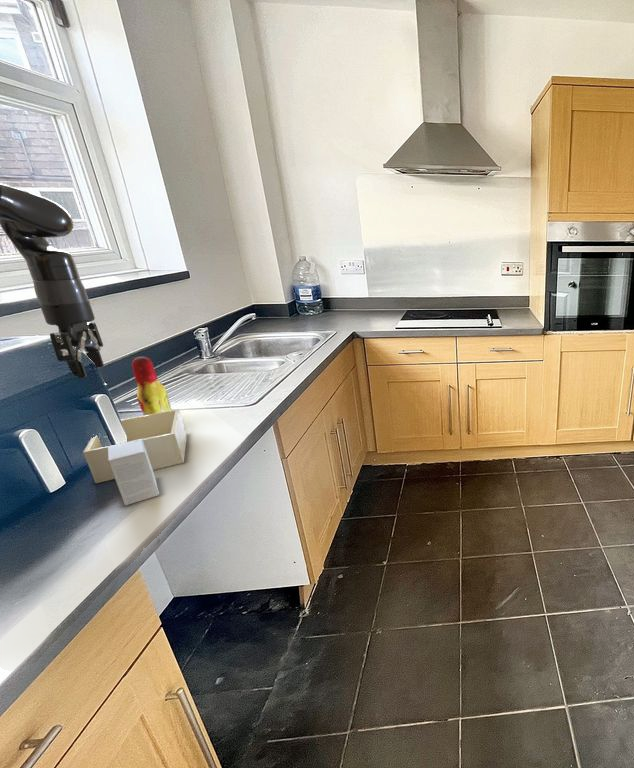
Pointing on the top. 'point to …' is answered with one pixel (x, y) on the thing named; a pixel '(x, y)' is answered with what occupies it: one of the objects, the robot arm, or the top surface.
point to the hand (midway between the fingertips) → (89, 372)
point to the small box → (132, 471)
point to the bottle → (149, 388)
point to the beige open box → (159, 438)
